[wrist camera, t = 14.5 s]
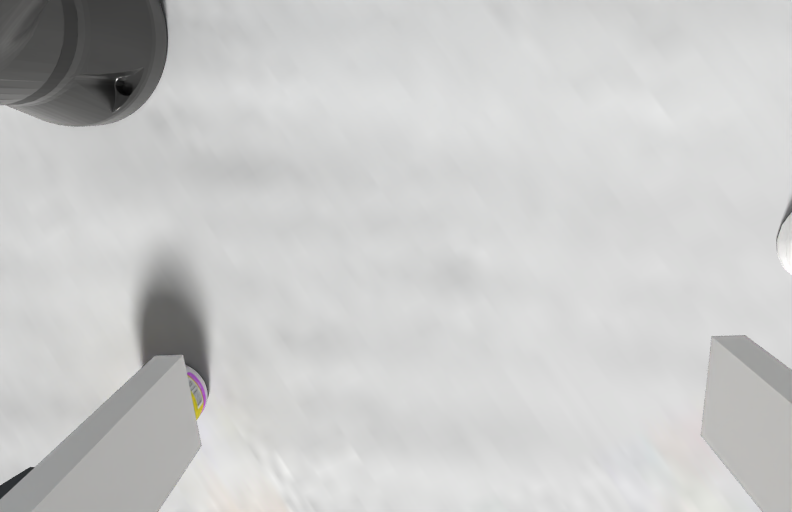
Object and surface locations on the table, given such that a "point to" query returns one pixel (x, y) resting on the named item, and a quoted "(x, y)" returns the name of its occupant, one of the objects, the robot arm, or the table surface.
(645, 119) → the table surface
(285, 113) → the table surface
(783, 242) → the bottle
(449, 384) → the table surface
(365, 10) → the table surface
